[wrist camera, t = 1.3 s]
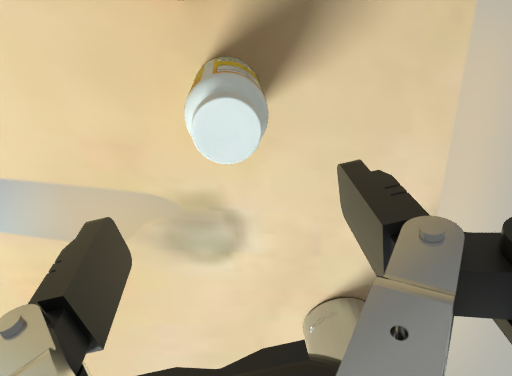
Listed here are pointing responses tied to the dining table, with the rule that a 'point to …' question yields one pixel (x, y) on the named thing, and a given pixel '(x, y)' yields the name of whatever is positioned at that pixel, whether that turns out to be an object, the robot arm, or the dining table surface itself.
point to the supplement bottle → (226, 111)
